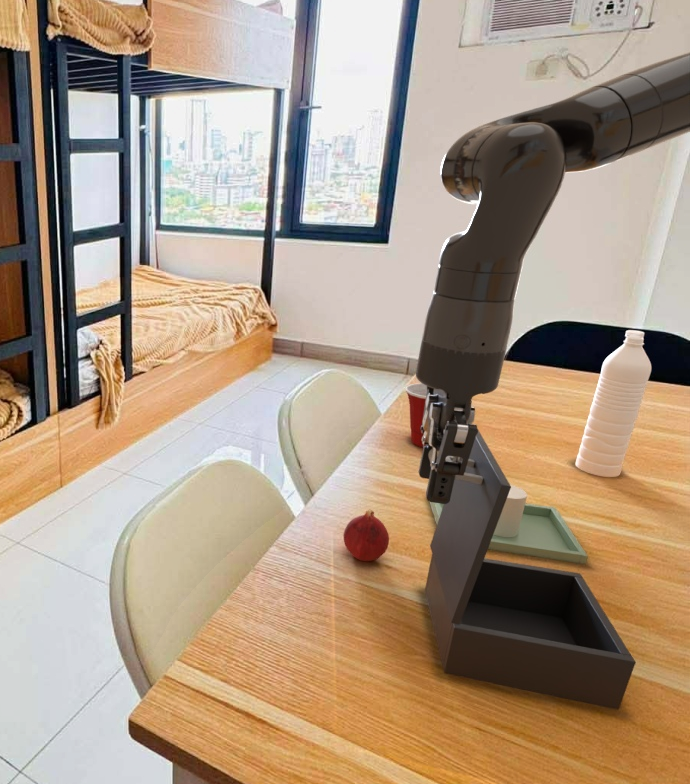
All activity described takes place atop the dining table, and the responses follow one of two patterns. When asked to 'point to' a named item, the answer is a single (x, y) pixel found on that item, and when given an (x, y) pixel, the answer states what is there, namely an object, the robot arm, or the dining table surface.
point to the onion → (366, 537)
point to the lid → (468, 526)
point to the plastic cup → (416, 411)
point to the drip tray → (537, 535)
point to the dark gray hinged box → (532, 634)
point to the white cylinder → (511, 513)
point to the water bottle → (615, 408)
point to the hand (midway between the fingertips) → (432, 488)
